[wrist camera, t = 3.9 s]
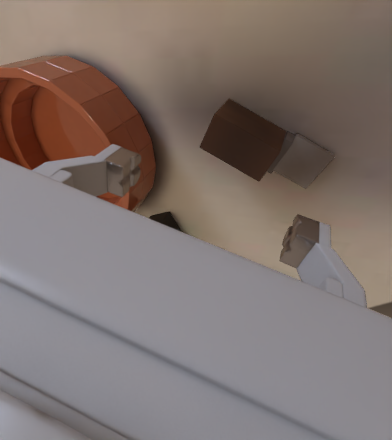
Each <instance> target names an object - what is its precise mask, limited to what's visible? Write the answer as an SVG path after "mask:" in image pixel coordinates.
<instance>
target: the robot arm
mask: <svg viewBox="0 0 392 440" xmlns="http://www.w3.org/2000/svg"><path fill="white" fill-rule="evenodd" d="M140 163H141V155H140V154H138V153H136V152H133V151H131V150H128V149H126V148H123V147H121V146H118V145H115V144H111V145H110V146H109V147H107V148H106V149H104V150H103V151H101V152H100V153H99V154H97V155H96V156H85V157H77V158H70V159H63V160H56V161H49V162H45V163H43V164H42V165H40V166H38V167H37V168H35V169H33V170H30V169H27V168H25V167H22V166H20V165H17V164H15V163H13V162H10V161H8V160H5V159H3V158H0V440H392V318H390V317H387V316H385V315H382V314H380V313H378V312H375V311H373V310H370V309H368V308H367V303H366V295H365V290H364V289H363V287H362V286H361V285H360V283H359V282H358V281H357V279H356V278H355V277H354V275H353V274H352V273H351V271H350V270H349V269H348V267H347V266H346V265H345V263H344V262H343V261H342V259H341V258H340V257H339V256H338V254H337V253H336V252H335V250H334V249H331V227H330V225H327V224H325V223H322V222H318V221H315V220H313V219H310V218H307V217H304V216H301V215H299V214H297V215H296V217H295V218H294V220H293V225H292V226H290V227H289V228H288V230H287V232H286V234H285V236H284V239H283V243H282V245H283V249H282V251H281V255H280V261H281V262H283V263H285V264H288V265H290V266H292V267H294V268H297V272H298V274H299V276H300V278H301V281H300V280H298V279H295V278H293V277H290V276H288V275H285V274H283V273H281V272H278V271H276V270H273V269H271V268H268V267H266V266H264V265H261V264H259V263H256V262H254V261H251V260H249V259H246V258H244V257H242V256H239V255H237V254H234V253H232V252H229V251H227V250H225V249H222V248H220V247H217V246H215V245H212V244H210V243H207V242H205V241H203V240H200V239H198V238H195V237H193V236H190V235H188V234H186V233H183V232H181V231H178V230H176V229H173V228H171V227H168V226H166V225H164V224H161V223H159V222H156V221H154V220H151V219H149V218H147V217H144V216H142V215H139V214H137V213H134V212H132V211H129V210H127V209H125V208H122V207H120V206H117V205H115V204H112V203H110V202H108V201H105V200H103V199H100V198H98V197H96V196H99V195H102V194H105V193H107V192H109V193H112V194H115V195H117V196H120V197H123V196H124V195H125V194H126V193H127V192H128V191H129V187H132V186H134V185H135V184H136V183H137V181H138V179H139V177H140V171H141V169H140V167H139V166H138V165H139V164H140Z"/></svg>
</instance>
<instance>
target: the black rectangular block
mask: <svg viewBox="0 0 392 440" xmlns="http://www.w3.org/2000/svg"><path fill="white" fill-rule="evenodd" d="M149 219H151V220H154V221H156V222H159V223H161V224H164V225H166V226H168V227H171V228H173V229H176V230H178V231H180V229H179V227H178V226H177V224H176V222H175V221H174V219H173V217H172V216H171V214H170V212H167V213H163V214H158V215H154V216H150V218H149Z"/></svg>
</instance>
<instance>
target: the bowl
mask: <svg viewBox="0 0 392 440" xmlns="http://www.w3.org/2000/svg"><path fill="white" fill-rule="evenodd" d="M151 141H152V140H151V138H150V136H149V134H148V131H147V129H146V127H145V125H144V123H143V120H142V118H141V116H140V114H139V113H138V111H137V110H136V109H135V107H134V106H133V105H132V103H131V102H130V101H129V100H128V98H127V97H126V96H125V94H124V93H123V92H122V90H121V89H120V88H119V87H118V86H117V85H116V84H115V83H113V82H112V81H111V80H110V79H108V78H107V77H106V76H105V75H103V74H102V73H101V72H100V71H98V70H97V69H96V68H95V67H93V66H90V65H88V64H85V63H83V62H80V61H78V60H76V59H73V58H71V57H68V56H41V57H37V58H32V59H28V60H24V61H19V62H15V63H10V64H6V65H1V66H0V158H3V159H5V160H8V161H10V162H13V163H15V164H17V165H20V166H22V167H25V168H27V169H30V170H33V169H35V168H37V167H38V166H40V165H42V164H43V163H45V162H49V161H56V160H63V159H70V158H77V157H85V156H96V155H97V154H99V153H100V152H101V151H103V150H104V149H106V148H107V147H109V146H110V145H111V144H115V145H118V146H121V147H123V148H126V149H128V150H131V151H133V152H136V153H138V154H140V155H141V163H140V164H139V165H138V166H139V167H140V169H141V171H140V177H139V179H138V181H137V183H136V184H135V185H134V186H132V187H129V191H128V192H127V193H126V194H125V195H124V196H123V197H120V196H117V195H115V194H112V193H109V192H107V193H105V194H102V195H99V196H96V197H98V198H100V199H103V200H105V201H108V202H110V203H112V204H115V205H117V206H120V207H122V208H125V209H127V210H129V211H132V212H134V211H135V210H136V209H137V208H138V207H139V206H140V205H141V203H142V202H143V201H144V200H145V198H146V197H147V195H148V194H149V192H150V190H151V189H152V187H153V183H154V176H155V170H156V164H155V158H154V152H153V146H152V142H151Z"/></svg>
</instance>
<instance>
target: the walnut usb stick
mask: <svg viewBox="0 0 392 440" xmlns="http://www.w3.org/2000/svg"><path fill="white" fill-rule="evenodd" d="M200 148H202V149H203V150H205V151H207V152H208V153H210V154H212V155H214V156H215V157H217V158H219V159H221V160H222V161H224V162H226V163H228V164H229V165H231V166H233V167H235V168H236V169H238V170H240V171H241V172H243V173H245V174H247V175H248V176H250V177H252V178H254V179H255V180H257V181H260V180H261V178H262V177H263V176H264V174H265V173H266V171H267V172H269V173H272V172H273V170H274V171H276V172H277V173H279V174H281V175H283V176H284V177H286V178H288V179H290V180H291V181H293V182H295V183H296V184H298V185H300V186H302V187H303V188H305V189H306V188H307V187H308V186H309V185H310V184H311V183H312V182H313V180H314V179H315V178H316V177H317V176H318V175H319V174H320V173H321V172H322V171H323V169H324V168H325V167H326V166H327V165H328V164H329V163H330V162H331V161H332V159H333V158H334V157H335V155H334V154H333V153H331V152H329V151H327V150H326V149H324V148H322V147H320V146H319V145H317V144H315V143H314V142H312V141H310V140H308V139H307V138H305V137H303V136H301V135H300V134H298V133H297V134H296V135H293V134H291V133H290V132H288V131H287V132H286V131H285V130H283V129H281V128H279V127H278V126H276V125H274V124H272V123H271V122H269V121H267V120H266V119H264V118H262V117H260V116H259V115H257V114H255V113H253V112H252V111H250V110H248V109H246V108H245V107H243V106H241V105H239V104H238V103H236V102H234V101H232V100H231V99H228V100H227V101H226V102H225V103H224V104H223V106H222V107H221V108H220V109H219V110H218V111H217V112H216V113H215V114H214V116H213V119H212V121H211V123H210V125H209V127H208V130H207V132H206V134H205V136H204V138H203V141H202V143H201V145H200Z"/></svg>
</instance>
